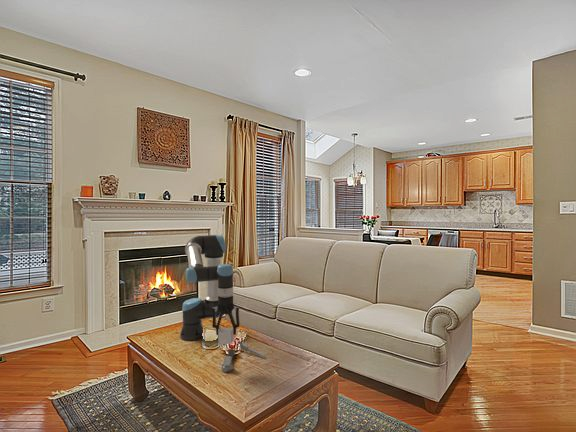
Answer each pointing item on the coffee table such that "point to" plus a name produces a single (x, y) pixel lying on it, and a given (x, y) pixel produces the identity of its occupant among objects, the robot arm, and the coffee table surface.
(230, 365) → the ratchet
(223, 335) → the socket
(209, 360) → the coffee table surface
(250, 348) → the caliper
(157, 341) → the coffee table surface
